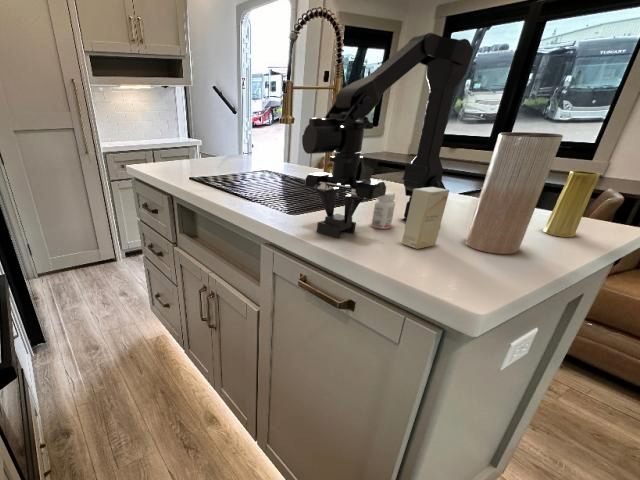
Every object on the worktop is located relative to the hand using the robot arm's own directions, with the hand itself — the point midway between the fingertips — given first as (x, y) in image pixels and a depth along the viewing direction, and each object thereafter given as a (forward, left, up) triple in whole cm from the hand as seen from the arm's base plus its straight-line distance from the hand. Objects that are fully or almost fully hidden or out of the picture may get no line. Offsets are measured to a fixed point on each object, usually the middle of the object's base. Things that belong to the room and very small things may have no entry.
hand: (338, 221), depth 87 cm
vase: (-35, -41, -3) cm, 54 cm away
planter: (-28, -18, -3) cm, 33 cm away
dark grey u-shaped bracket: (0, 0, -3) cm, 3 cm away
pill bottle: (-4, -13, -3) cm, 14 cm away
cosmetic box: (-17, -7, -3) cm, 19 cm away
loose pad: (0, 0, -2) cm, 2 cm away
